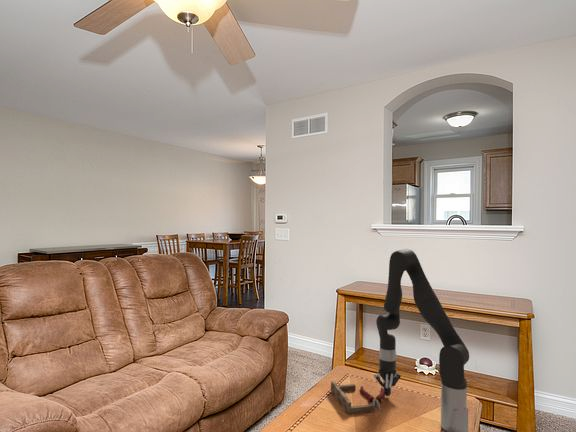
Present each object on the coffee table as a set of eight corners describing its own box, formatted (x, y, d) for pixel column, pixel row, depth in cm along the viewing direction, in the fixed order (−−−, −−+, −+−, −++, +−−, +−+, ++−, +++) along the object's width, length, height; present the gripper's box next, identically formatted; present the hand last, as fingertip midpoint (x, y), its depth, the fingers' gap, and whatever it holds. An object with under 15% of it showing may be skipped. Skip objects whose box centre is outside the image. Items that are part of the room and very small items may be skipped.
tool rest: (373, 411, 153) (374, 400, 153) (347, 414, 150) (347, 402, 150) (354, 389, 173) (354, 378, 173) (330, 391, 170) (330, 380, 170)
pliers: (363, 411, 153) (363, 405, 154) (359, 390, 173) (359, 384, 174) (390, 414, 152) (391, 407, 152) (383, 392, 172) (384, 386, 172)
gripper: (378, 361, 161) (377, 400, 160) (404, 359, 163) (404, 397, 163) (370, 355, 168) (370, 392, 168) (396, 353, 171) (396, 390, 170)
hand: (387, 395), depth 165 cm, fingers closed
